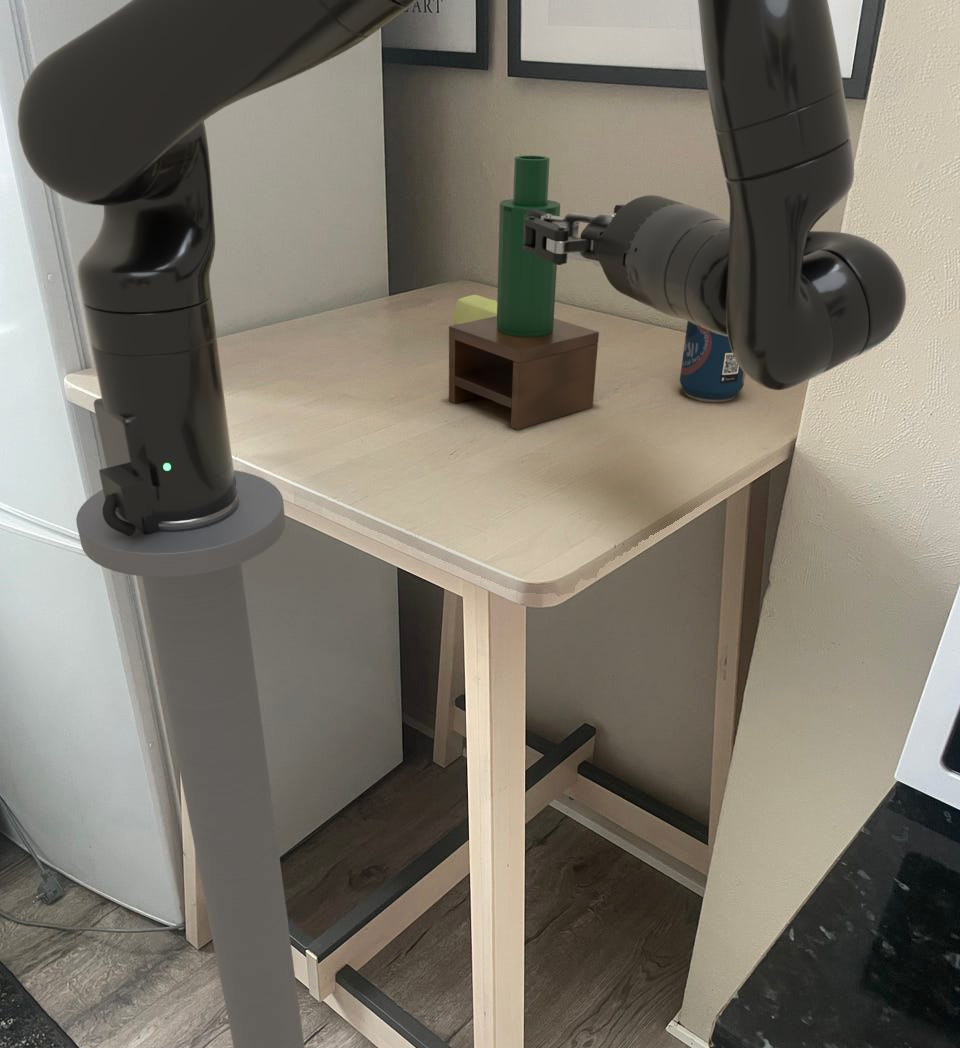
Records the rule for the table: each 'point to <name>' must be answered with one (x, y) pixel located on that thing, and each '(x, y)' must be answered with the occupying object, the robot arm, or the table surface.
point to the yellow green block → (474, 309)
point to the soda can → (709, 366)
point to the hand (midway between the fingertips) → (573, 219)
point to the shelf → (524, 369)
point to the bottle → (525, 256)
